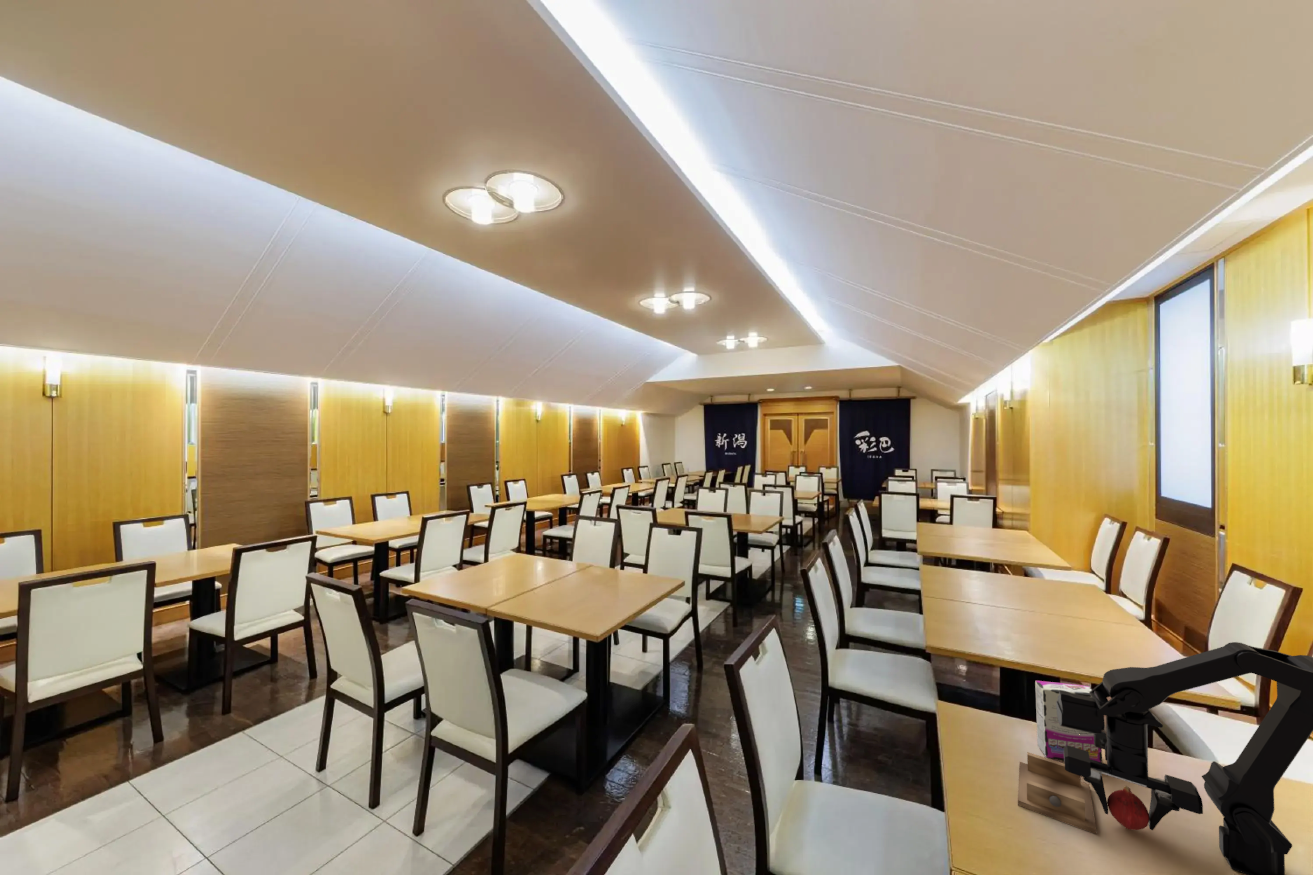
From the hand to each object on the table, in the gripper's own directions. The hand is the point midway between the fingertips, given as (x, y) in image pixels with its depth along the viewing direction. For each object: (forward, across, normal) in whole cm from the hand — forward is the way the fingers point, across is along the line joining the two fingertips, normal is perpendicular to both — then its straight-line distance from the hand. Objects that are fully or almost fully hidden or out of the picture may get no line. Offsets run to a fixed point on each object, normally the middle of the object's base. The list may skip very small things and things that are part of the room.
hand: (1128, 820), depth 92 cm
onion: (+2, 0, 0) cm, 2 cm away
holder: (+2, +11, -2) cm, 11 cm away
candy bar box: (+2, +8, -21) cm, 23 cm away
